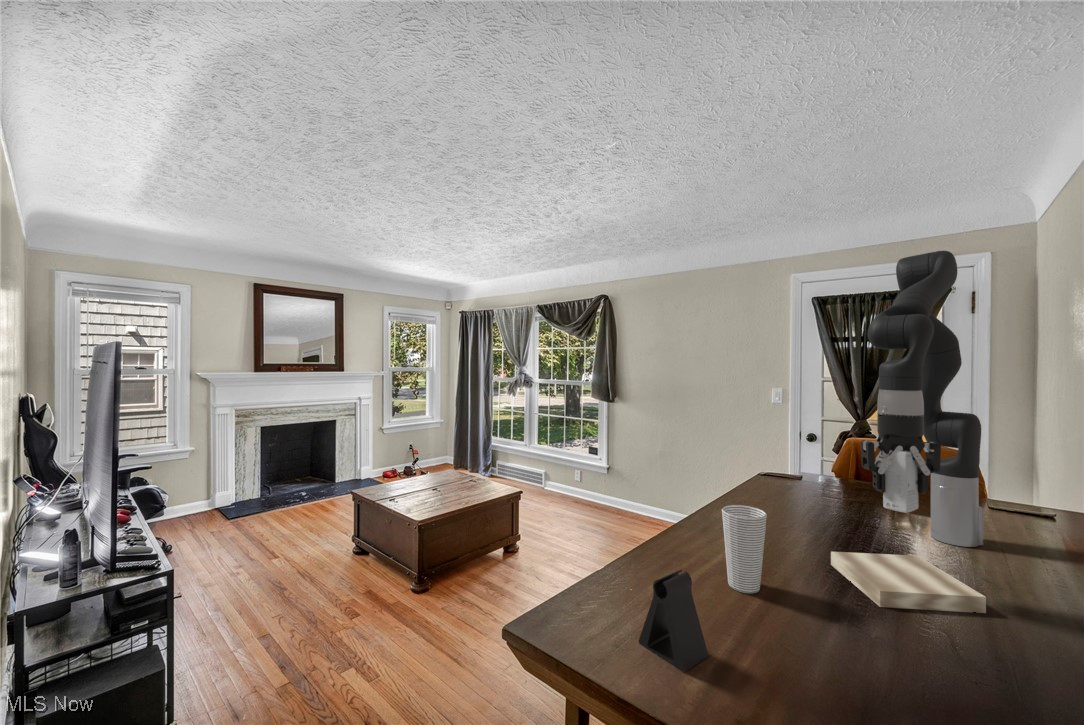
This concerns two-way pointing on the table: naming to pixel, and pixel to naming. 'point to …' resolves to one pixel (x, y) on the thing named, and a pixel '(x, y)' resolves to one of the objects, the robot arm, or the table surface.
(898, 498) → the skincare box
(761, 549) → the cup
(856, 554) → the base block
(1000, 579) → the table surface
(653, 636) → the phone stand
